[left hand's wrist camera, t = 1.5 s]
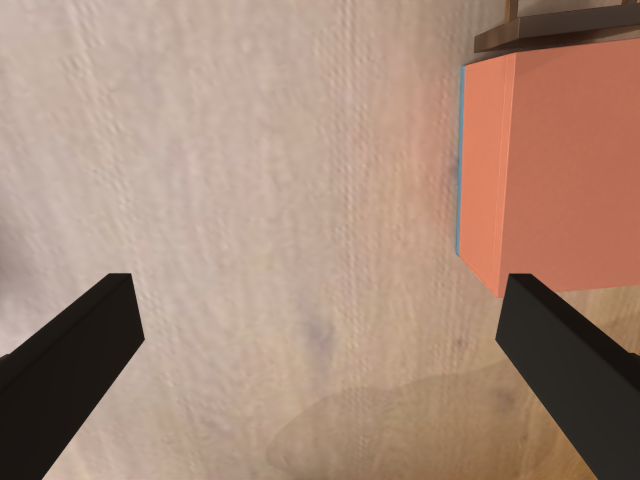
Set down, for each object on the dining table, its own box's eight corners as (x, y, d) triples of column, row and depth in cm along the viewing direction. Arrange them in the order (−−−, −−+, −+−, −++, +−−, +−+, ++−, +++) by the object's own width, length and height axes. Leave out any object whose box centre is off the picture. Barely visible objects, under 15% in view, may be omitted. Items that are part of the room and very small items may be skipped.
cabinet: (461, 66, 30) (515, 52, 22) (598, 50, 30) (706, 29, 22) (456, 253, 36) (496, 298, 28) (570, 242, 36) (646, 284, 28)
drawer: (477, -42, 27) (527, -89, 20) (615, -60, 27) (711, -113, 20) (467, 224, 34) (501, 253, 28) (575, 213, 34) (635, 240, 27)
